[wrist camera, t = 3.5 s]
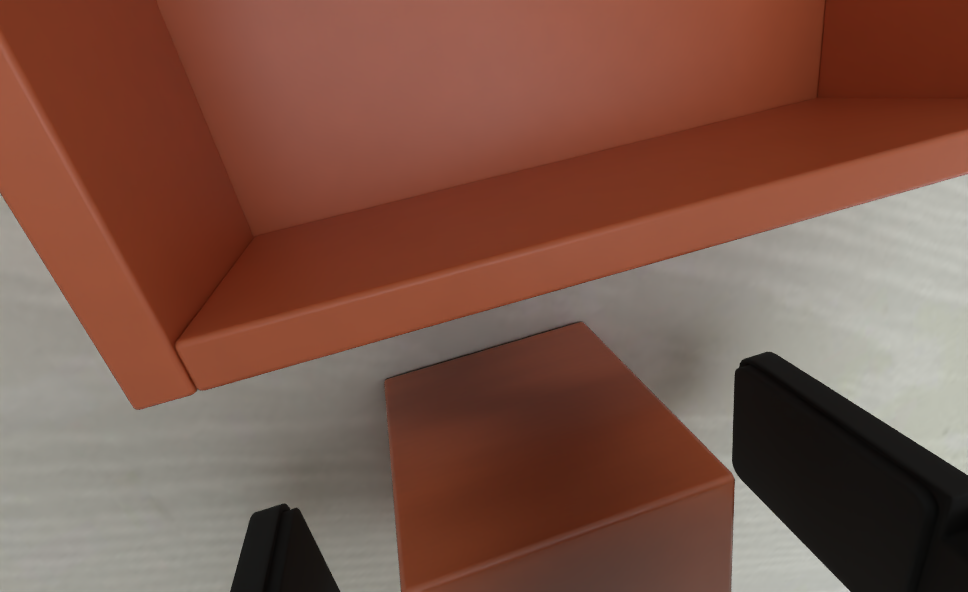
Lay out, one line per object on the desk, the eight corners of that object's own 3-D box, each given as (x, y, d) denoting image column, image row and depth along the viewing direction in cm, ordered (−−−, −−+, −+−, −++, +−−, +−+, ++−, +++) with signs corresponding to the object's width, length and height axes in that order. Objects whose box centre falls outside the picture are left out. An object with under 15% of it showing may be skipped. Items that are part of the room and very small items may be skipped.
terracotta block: (433, 527, 12) (475, 778, 8) (382, 378, 10) (400, 595, 6) (601, 470, 13) (730, 671, 8) (582, 319, 11) (737, 475, 6)
